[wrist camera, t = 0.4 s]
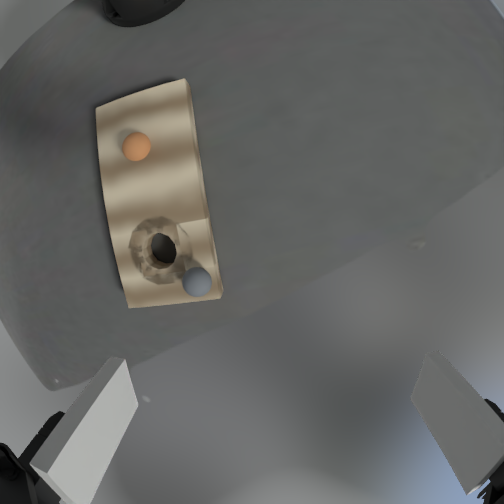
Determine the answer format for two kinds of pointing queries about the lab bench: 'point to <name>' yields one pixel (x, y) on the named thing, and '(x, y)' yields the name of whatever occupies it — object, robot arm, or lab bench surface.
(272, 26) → the lab bench surface
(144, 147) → the ball
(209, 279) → the grey ball
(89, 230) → the lab bench surface
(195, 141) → the board
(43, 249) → the lab bench surface
